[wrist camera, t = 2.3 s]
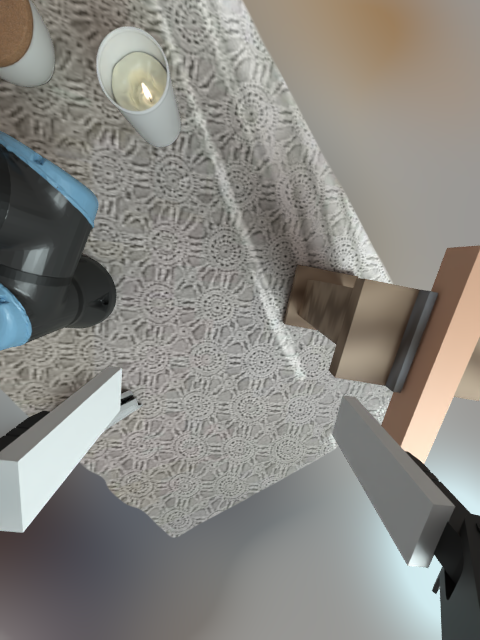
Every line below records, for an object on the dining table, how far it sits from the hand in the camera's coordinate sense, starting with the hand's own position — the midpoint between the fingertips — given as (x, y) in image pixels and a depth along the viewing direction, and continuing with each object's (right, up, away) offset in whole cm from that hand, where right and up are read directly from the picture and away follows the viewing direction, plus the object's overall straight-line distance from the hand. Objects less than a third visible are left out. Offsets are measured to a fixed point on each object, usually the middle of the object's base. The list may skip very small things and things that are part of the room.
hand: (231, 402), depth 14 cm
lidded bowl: (-36, +50, +27) cm, 67 cm away
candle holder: (-15, +42, +30) cm, 53 cm away
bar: (+18, 0, +10) cm, 21 cm away
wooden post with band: (+18, +9, +38) cm, 44 cm away
